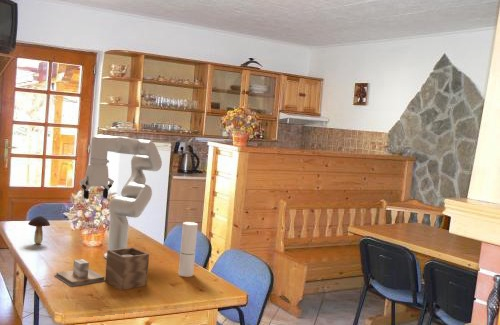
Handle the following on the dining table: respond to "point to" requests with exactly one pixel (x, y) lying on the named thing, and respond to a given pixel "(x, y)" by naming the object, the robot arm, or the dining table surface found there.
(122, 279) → the box
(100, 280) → the mat
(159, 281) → the dining table surface
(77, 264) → the lid
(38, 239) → the decorative mushroom
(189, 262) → the cylindrical container
